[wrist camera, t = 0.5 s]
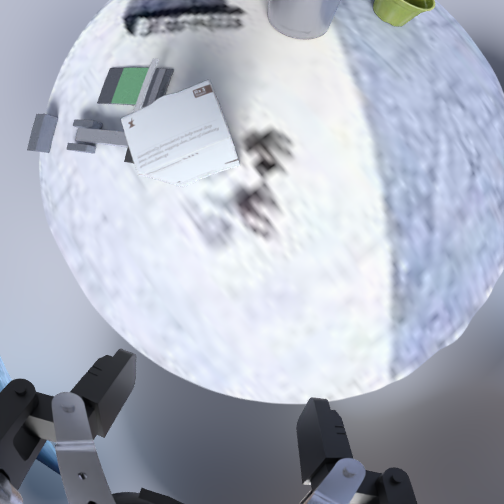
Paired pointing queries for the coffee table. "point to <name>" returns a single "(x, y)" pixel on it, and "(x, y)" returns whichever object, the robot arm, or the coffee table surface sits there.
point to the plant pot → (401, 10)
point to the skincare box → (181, 137)
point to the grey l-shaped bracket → (117, 136)
